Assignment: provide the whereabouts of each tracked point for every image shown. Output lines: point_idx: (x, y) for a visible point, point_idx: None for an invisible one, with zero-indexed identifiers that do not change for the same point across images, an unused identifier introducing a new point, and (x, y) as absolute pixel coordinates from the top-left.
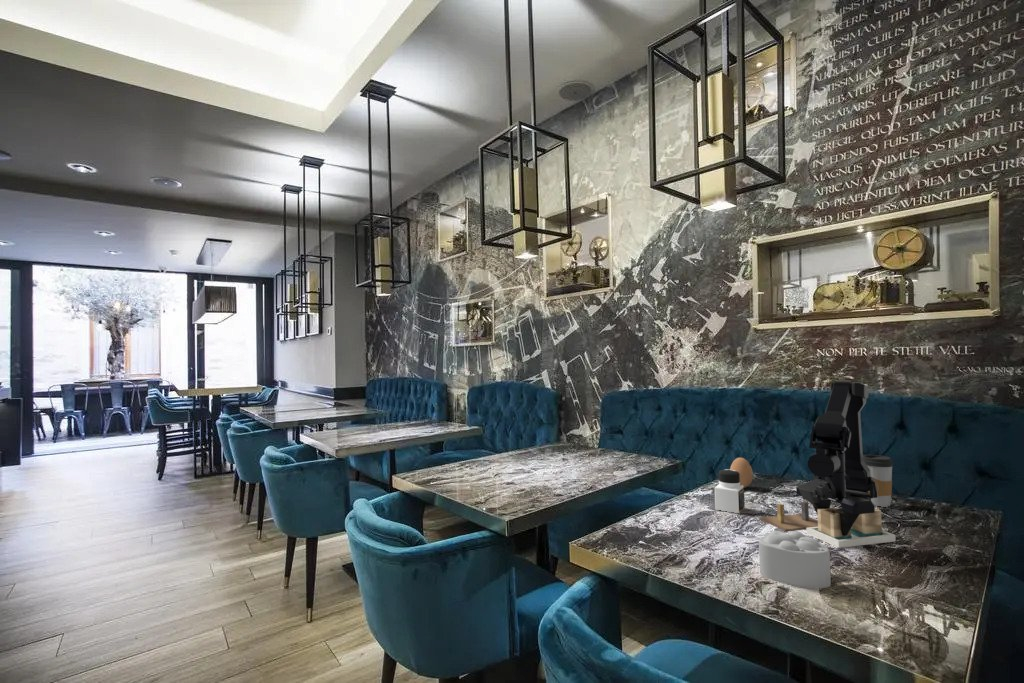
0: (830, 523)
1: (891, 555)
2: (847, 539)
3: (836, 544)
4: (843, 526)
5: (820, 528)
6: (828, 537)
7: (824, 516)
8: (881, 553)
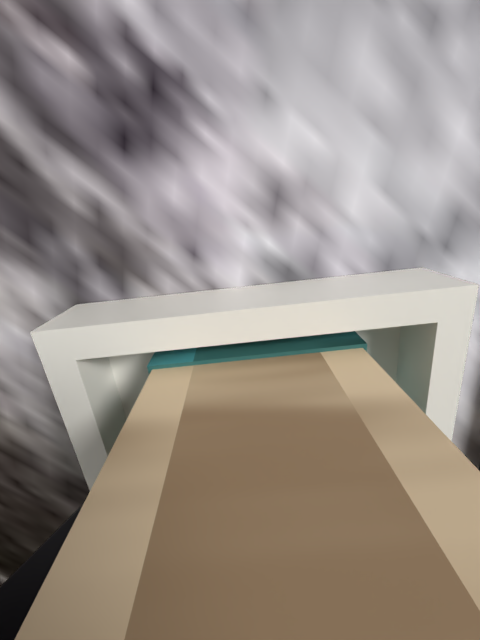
0: (164, 473)
1: (4, 536)
2: (92, 441)
3: (77, 313)
4: (38, 552)
5: (340, 368)
6: (164, 317)
7: (315, 555)
8: (32, 512)
